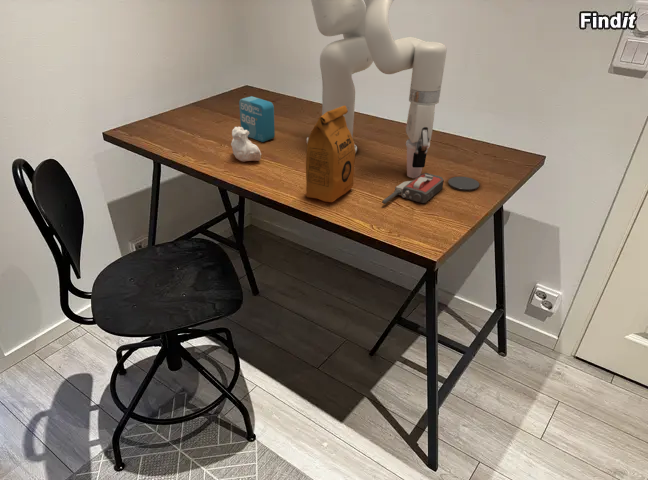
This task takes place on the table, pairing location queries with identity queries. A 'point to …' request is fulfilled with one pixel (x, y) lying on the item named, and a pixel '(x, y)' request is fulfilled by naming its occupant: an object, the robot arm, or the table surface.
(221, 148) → the table surface
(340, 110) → the coffee package
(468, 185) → the coaster
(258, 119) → the data package
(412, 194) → the walkie-talkie
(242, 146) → the white animal figurine
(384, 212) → the table surface
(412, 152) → the smoothie
